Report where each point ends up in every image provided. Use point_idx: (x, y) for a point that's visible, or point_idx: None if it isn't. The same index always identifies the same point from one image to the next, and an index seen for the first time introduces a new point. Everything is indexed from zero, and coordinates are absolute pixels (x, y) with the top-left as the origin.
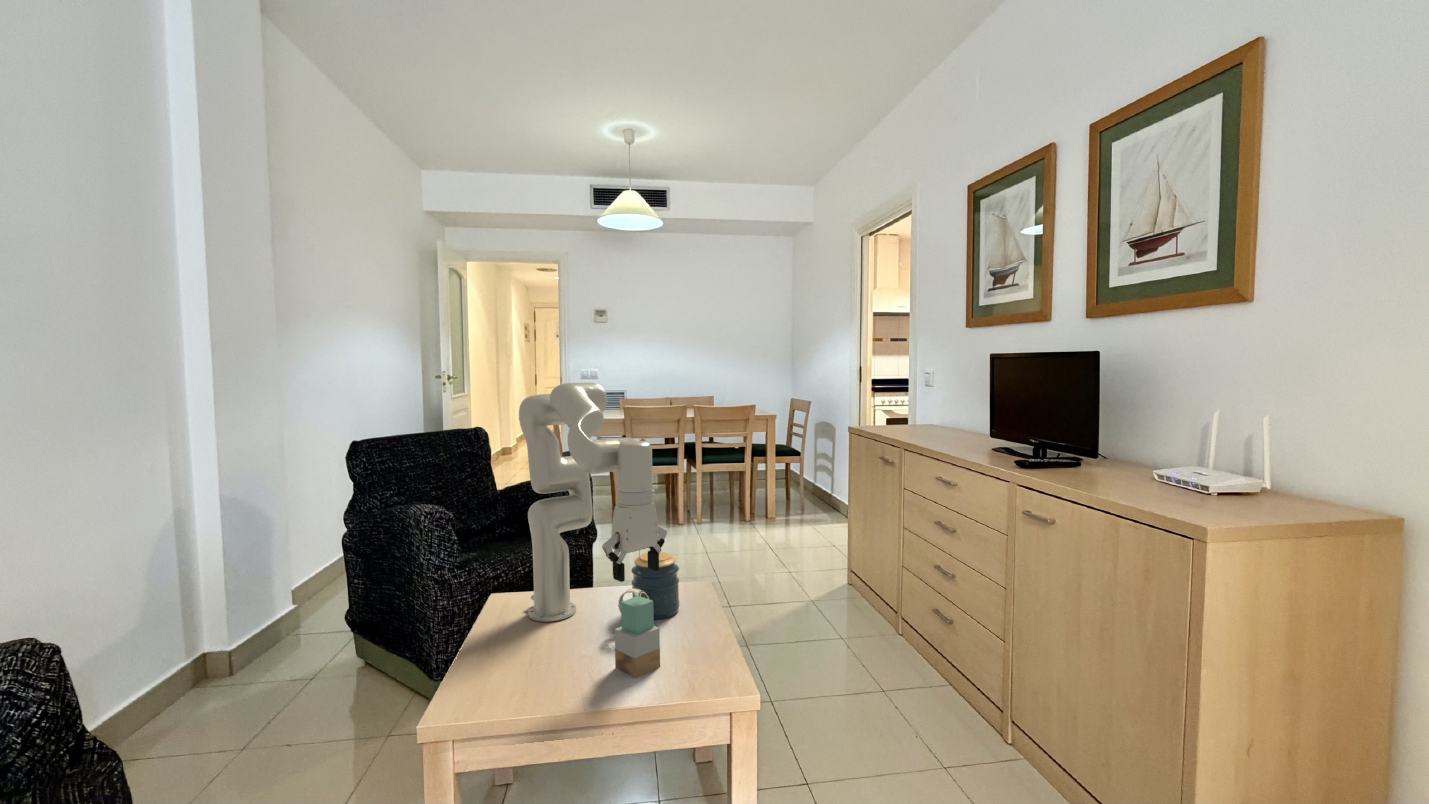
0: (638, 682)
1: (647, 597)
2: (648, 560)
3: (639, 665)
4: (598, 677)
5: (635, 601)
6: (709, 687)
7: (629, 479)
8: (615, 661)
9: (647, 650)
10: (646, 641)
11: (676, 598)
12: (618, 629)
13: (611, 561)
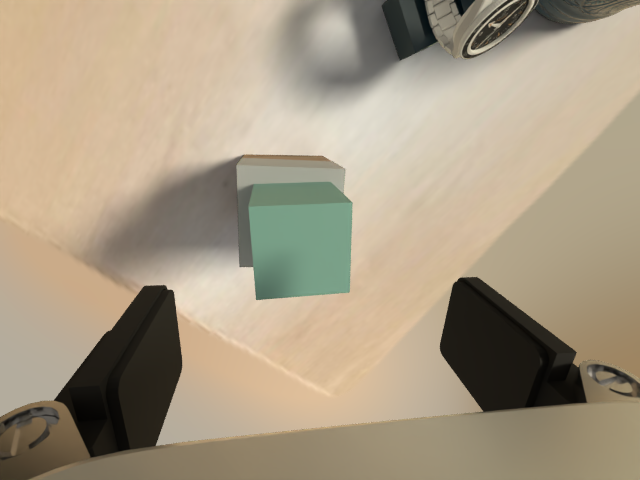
0: None
1: (524, 13)
2: (487, 315)
3: None
4: (185, 159)
5: (298, 247)
6: (321, 348)
7: None
8: (243, 156)
9: None
10: None
11: (635, 5)
12: (242, 180)
13: (27, 408)
